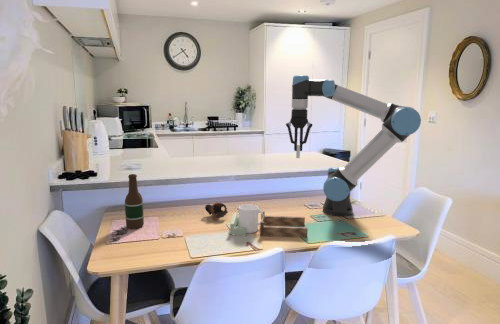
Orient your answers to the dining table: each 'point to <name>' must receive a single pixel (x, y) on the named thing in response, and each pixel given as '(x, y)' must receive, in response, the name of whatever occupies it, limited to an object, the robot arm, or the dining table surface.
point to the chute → (281, 230)
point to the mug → (249, 217)
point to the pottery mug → (216, 210)
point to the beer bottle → (134, 205)
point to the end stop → (235, 229)
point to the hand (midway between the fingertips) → (297, 157)
